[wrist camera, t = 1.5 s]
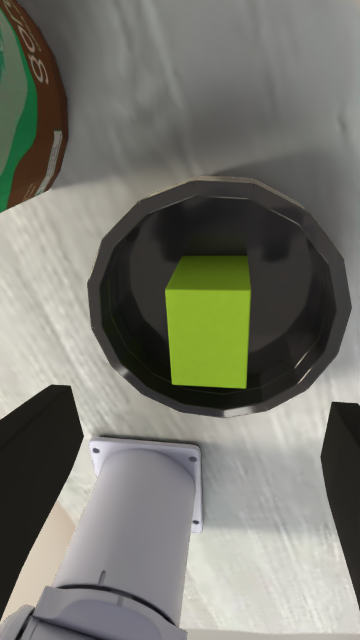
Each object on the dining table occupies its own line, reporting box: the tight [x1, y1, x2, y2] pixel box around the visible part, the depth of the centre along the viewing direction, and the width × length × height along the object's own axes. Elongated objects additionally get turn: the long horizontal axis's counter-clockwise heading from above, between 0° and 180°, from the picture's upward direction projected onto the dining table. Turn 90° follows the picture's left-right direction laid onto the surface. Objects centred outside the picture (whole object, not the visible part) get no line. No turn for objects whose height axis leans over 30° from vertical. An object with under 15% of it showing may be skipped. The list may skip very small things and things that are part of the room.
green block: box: [165, 256, 251, 389], centre depth 15 cm, size 4×3×4 cm
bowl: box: [87, 175, 352, 418], centre depth 16 cm, size 12×12×3 cm
